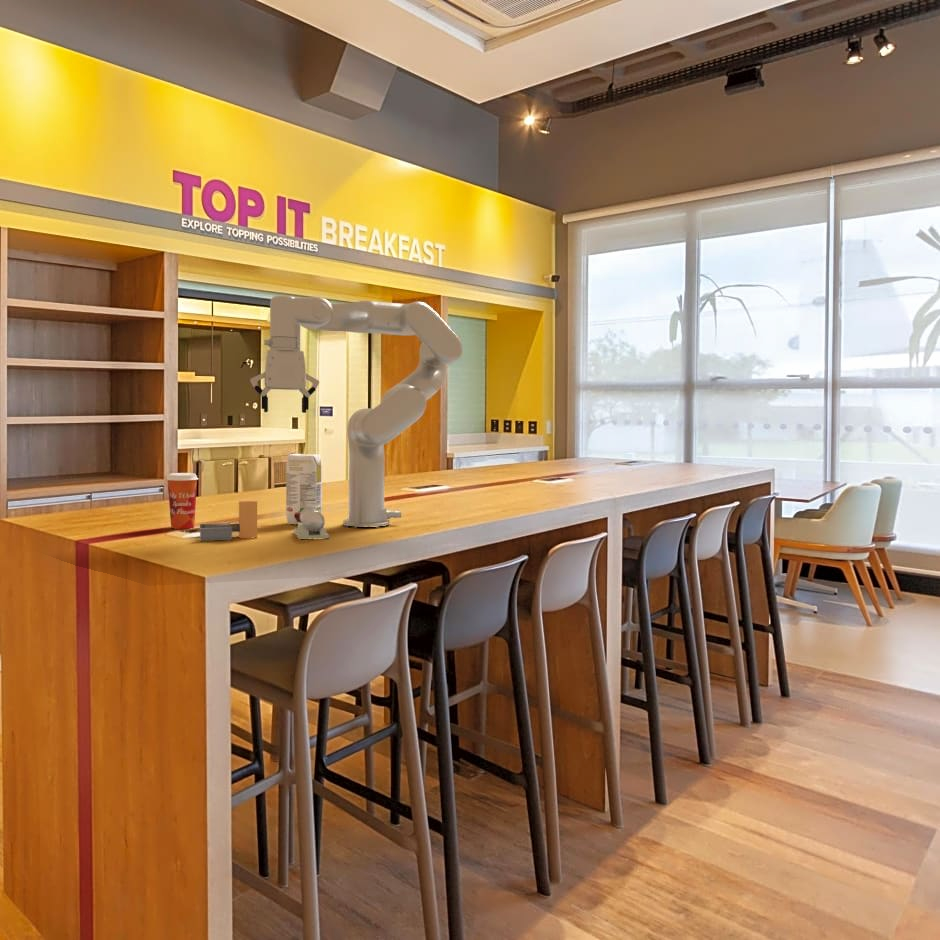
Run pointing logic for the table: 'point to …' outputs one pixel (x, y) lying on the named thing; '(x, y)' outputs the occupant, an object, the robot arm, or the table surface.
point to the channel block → (215, 533)
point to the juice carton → (303, 485)
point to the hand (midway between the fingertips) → (285, 412)
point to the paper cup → (182, 499)
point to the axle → (312, 519)
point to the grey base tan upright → (243, 519)
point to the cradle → (309, 533)
